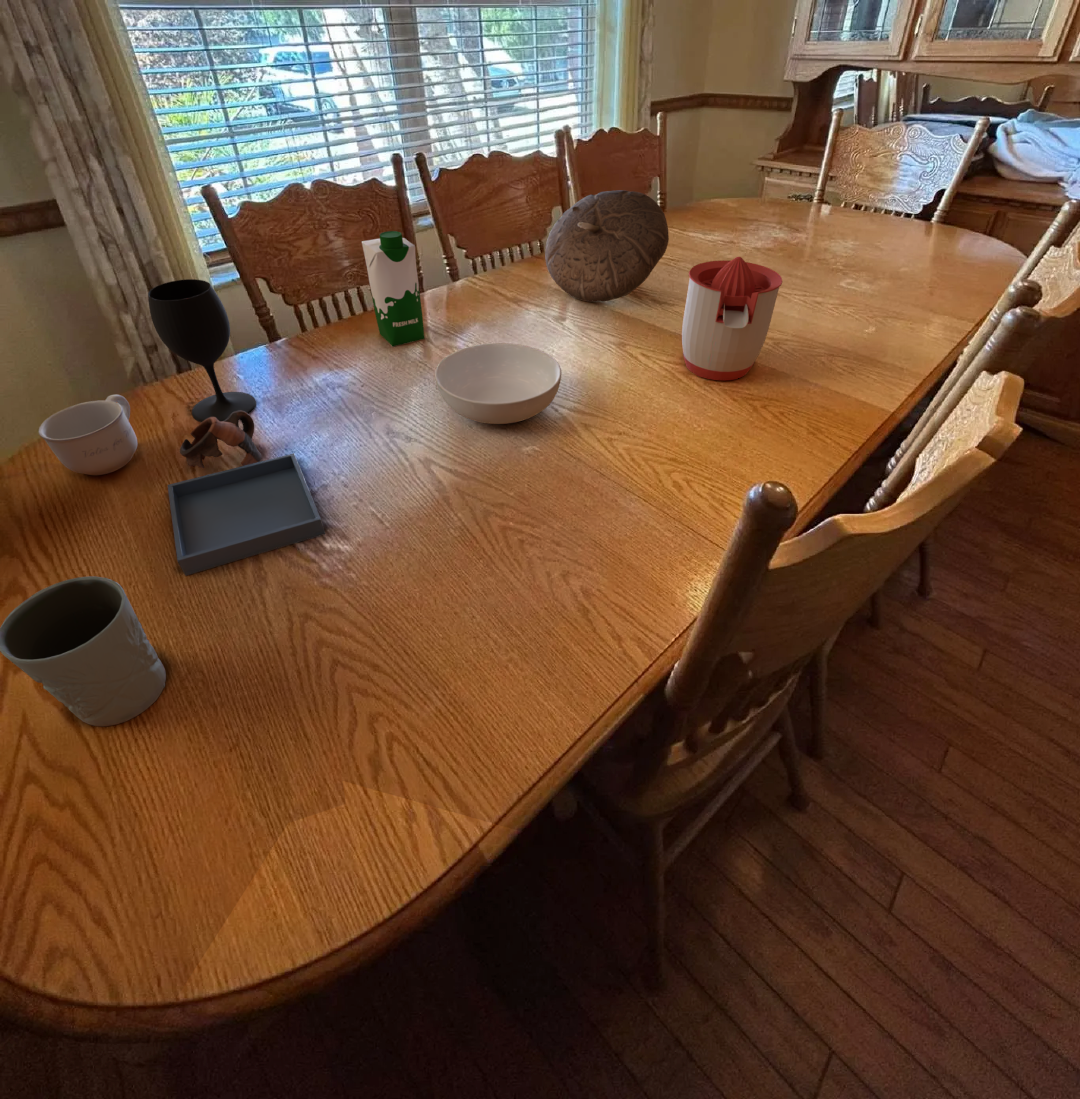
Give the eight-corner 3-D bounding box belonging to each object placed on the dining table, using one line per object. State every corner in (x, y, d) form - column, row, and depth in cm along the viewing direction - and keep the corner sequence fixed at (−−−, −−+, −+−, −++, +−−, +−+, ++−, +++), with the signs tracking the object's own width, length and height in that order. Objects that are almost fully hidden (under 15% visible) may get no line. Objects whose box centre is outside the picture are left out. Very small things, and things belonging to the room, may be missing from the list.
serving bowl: (419, 429, 103) (413, 391, 98) (464, 372, 117) (461, 336, 113) (542, 449, 98) (542, 409, 94) (573, 386, 113) (574, 350, 109)
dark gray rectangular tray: (174, 499, 89) (167, 484, 87) (298, 467, 95) (294, 452, 93) (185, 576, 78) (177, 560, 76) (325, 534, 83) (320, 519, 82)
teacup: (105, 491, 90) (78, 443, 85) (47, 476, 93) (17, 429, 87) (175, 440, 100) (155, 395, 95) (122, 428, 103) (98, 383, 97)
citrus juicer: (676, 389, 113) (695, 274, 99) (672, 347, 125) (689, 240, 112) (765, 395, 111) (797, 279, 98) (753, 351, 124) (779, 243, 110)
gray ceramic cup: (177, 643, 70) (129, 565, 62) (172, 717, 63) (118, 641, 55) (73, 669, 67) (10, 591, 59) (56, 750, 60) (-18, 674, 52)
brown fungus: (520, 302, 144) (520, 181, 138) (576, 310, 162) (578, 204, 155) (628, 294, 128) (634, 157, 122) (677, 304, 146) (684, 185, 139)
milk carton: (390, 349, 124) (372, 241, 111) (373, 333, 130) (354, 228, 117) (430, 339, 128) (418, 233, 114) (413, 324, 133) (399, 221, 120)
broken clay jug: (248, 488, 92) (199, 450, 86) (211, 498, 97) (163, 463, 91) (283, 428, 98) (240, 389, 92) (247, 440, 103) (204, 405, 97)
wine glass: (269, 400, 109) (232, 283, 96) (225, 430, 102) (177, 307, 89) (224, 388, 113) (181, 273, 99) (178, 416, 106) (125, 296, 92)
